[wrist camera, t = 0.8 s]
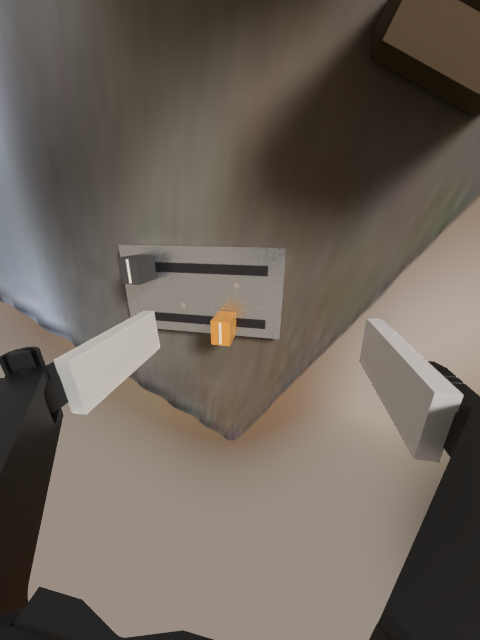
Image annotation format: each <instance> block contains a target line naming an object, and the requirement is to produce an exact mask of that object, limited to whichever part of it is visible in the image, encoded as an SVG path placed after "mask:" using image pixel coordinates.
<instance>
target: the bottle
mask: <svg viewBox="0 0 480 640" xmlns="http://www.w3.org/2000/svg"><path fill="white" fill-rule="evenodd" d="M371 55H372V59H373V60H374V61H376V62H378V63H380V64H381V65H383V66H385V67H387V68H389V69H390V70H392V71H394V72H396V73H398V74H399V75H401V76H403V77H405V78H406V79H408V80H410V81H412V82H414V83H415V84H417V85H419V86H421V87H423V88H424V89H426V90H428V91H430V92H432V93H433V94H435V95H437V96H439V97H441V98H442V99H444V100H446V101H448V102H449V103H451V104H453V105H455V106H457V107H458V108H460V109H462V110H464V111H466V112H467V113H469V114H471V115H473V116H475V115H476V114H478V113H480V0H388V1H387V4H386V6H385V8H384V11H383V13H382V15H381V18H380V20H379V22H378V25H377V27H376V29H375V31H374V37H373V42H372V48H371Z"/></svg>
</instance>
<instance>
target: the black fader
mask: <svg viewBox="0 0 480 640" xmlns="http://www.w3.org/2000/svg"><path fill="white" fill-rule="evenodd" d="M118 261H119V267H120V273H121V279H122V284H131V285H141V284H144V283H147V282H150V281H152V280H155V279H157V276H156V268H155V259H154V255H139V254H137V255H131V256H124V257H118Z"/></svg>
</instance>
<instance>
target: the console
mask: <svg viewBox="0 0 480 640" xmlns="http://www.w3.org/2000/svg"><path fill="white" fill-rule="evenodd" d="M118 246H119V252H120V257H124V256H131V255H137V254H139V255H154V259H155V268H156V276H157V279H155V280H152V281H150V282H147V283H144V284H141V285H131V284H125V287H126V293H127V299H128V305H129V311H130V317H133V316H135V315H136V314H138V313H140V312H142V311H154V313H155V319H156V325H157V329H167V330H178V331H190V332H201V333H211V324H210V321H211V320H212V318H213V317H214V316H215V315H216V314H217V313H218V312H219V311H231V312H236V336H247V337H259V338H270V339H279V337H280V323H281V310H282V296H283V283H284V269H285V256H286V247H248V246H197V245H146V244H121V245H118Z"/></svg>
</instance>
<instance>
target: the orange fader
mask: <svg viewBox="0 0 480 640" xmlns="http://www.w3.org/2000/svg"><path fill="white" fill-rule="evenodd" d="M210 324H211V344H212V345H222V346H230V345H231V343H232V341H233V339H234V337H235V335H236V312H231V311H219V312H218V313H217V314H216V315H215V316H214V317H213V318H212V320H211V321H210Z"/></svg>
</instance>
